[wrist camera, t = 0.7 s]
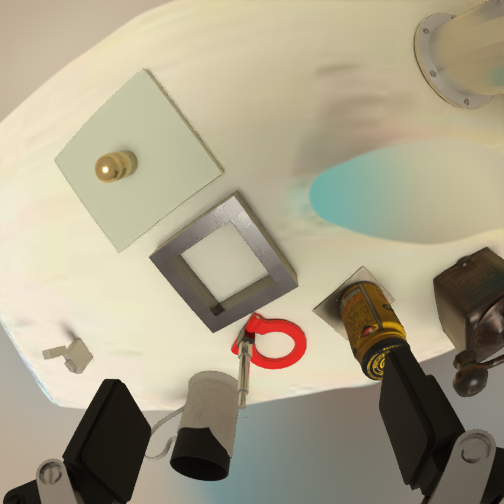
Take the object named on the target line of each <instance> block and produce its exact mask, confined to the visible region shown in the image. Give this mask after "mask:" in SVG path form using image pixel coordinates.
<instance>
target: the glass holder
mask: <svg viewBox="0 0 504 504" xmlns="http://www.w3.org/2000/svg"><path fill="white" fill-rule="evenodd" d="M237 389H238V381H237V380H236V379H235V378H233V377H232V376H230V375H227V374H225V373H222V372H217V371H204V372H200V373H197V374H195V375H194V376H193V377H192V378H191V379H190V381H189V394H188V397H187V401H186V404H185V405H184V406H183V407H181V408H179V409H178V410H176V411H174V412H173V413H171V414H169V415H168V416H167V417H165V418H163V419H162V420H160V421H159V422H158V423H157V424H156V425H155V426H154V427H153V428H152V429H151V436H152V434H153V433H154V432H155V431H156V430H157V429H158V428H159V427H160V426H161V425H162V424H163V423H165V422H166V421H168V420H169V419H171V418H172V417H174V416H176V415H177V414H179V413H181V412H182V411H183V414H182V418H181V421H180V424H179V428H178V431H177V435H178V436H175V437H171V438H170V439H169V440H168V442H167V444H166V447H165V449H164V450H163V452H162V453H161V454H160V455H158V456H156V457H148V456H146V455H144V457H145V458H146V459H148V460H151V461H157V460H160V459H162V458H163V457H164V456H165V455H166V454H167V452H168V451H169V448H170V445H171V443H172V442H173V441H175V440H176V442H175V446H174V450H173V453H172V456H171V460H170V465H171V466H172V468H173V469H174V470H176V471H177V472H179V473H180V474H182V475H184V476H187V477H189V478H193V479H197V480H203V481H218V480H222V479H224V478H226V477H227V476H228V473H229V466H230V465H229V464H230V459H231V458H232V454H233V446H234V439H235V431H236V424H237V416H238V409H239V408H238V401H239V394H238V393H237Z"/></svg>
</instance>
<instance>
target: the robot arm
mask: <svg viewBox="0 0 504 504" xmlns="http://www.w3.org/2000/svg"><path fill="white" fill-rule="evenodd" d="M414 43H415V53H416V57H417V61H418V64H419V66H420V69H421V71H422V73H423V75H424V76H425V78H426V80H427V81H428V83H429V84H430V85H431V87H432V88H433V89H434V90H435V91H436V92H437V93H438V95H440V96H441V97H442V98H443V99H444V100H446V101H447V102H449V103H451V104H452V105H454V106H457V107H460V108H465V109H476V108H480V107H482V106H484V105H486V104H487V103H488V102H489V101H490V100H491V98H492V97H493V95H495V94H504V0H490V1H488V2H486V3H483V4H481V5H479V6H477V7H475V8H473V9H471V10H469V11H467V12H465V13H463V14H461V15H459V16H457V17H456V16H454V15H450V14H443V13H439V14H434V15H431V16H430V17H428V18H426V19H425V20H424V21H422V22H421V24H420V25H419V27H418V28H417V31H416V34H415V42H414ZM430 74H431V75H430ZM379 409H380V413H381V416H382V418H383V421H384V424H385V427H386V430H387V433H388V435H389V438H390V441H391V444H392V447H393V450H394V453H395V456H396V459H397V462H398V465H399V468H400V471H401V474H402V477H403V480H404V483H405V484H406V485H408V484H410V486H411V489H412V490H414V489H417V488H420V489H421V492H422V494H423V495H425V496H424V498H423V500H422V502H421V503H420V504H504V449H503V448H499V447H496V443H495V439H494V438H493V436H492V435H491V434H490V433H488V432H487V431H484V430H481V429H473V430H468V431H465V429H464V428H463V426H462V424H461V422H460V420H459V418H458V417H457V415H456V413H455V411H454V409H453V408H452V406H451V404H450V402H449V401H448V399H447V397H446V396H445V394H444V392H443V391H442V389H441V387H440V385H439V384H438V382H437V381H436V379H435V378H434V376H433V375H425V373H424V372H423V370H422V368H421V367H420V365H419V363H418V362H417V360H416V358H415V357H414V355H413V354H412V352H411V350H410V349H409V347H408V346H407V345H406V344H405V345H401V346H397V347H393V348H390V350H389V353H386V354H385V359H384V369H383V378H382V386H381V394H380V401H379ZM150 437H151V427H150V425H149V424H148V422H147V420H146V419H145V417H144V415H143V414H142V412H141V411H140V409H139V407H138V406H137V404H136V402H135V401H134V399H133V397H132V395H131V394H130V392H129V390H128V388H127V387H126V385H125V384H124V383H122V382H121V380H119V379H105V380H104V381H103V382H102V384H101V386H100V387H99V389H98V391H97V393H96V394H95V396H94V398H93V400H92V401H91V403H90V405H89V407H88V409H87V411H86V412H85V414H84V416H83V418H82V420H81V422H80V423H79V426H78V427H77V429H76V431H75V433H74V435H73V437H72V439H71V440H70V442H69V444H68V446H67V448H66V450H65V452H64V454H63V456H62V457H63V459H64V461H63V462H61V461H60V460H58V459H48V460H46V461H44V462H43V463H42V464H41V465H40V466H39V468H38V469H37V472H36V479H35V480H33V481H31V482H28V483H26V484H24V485H21V486H19V487H17V488H14V489H12V490H10V491H8V493H7V494H6V495H5V497H4V500H3V504H126V503H127V502H128V501H130V500H131V497H132V493H133V490H134V487H135V483H136V481H137V477H138V474H139V471H140V468H141V465H142V462H143V458H144V455H145V452H146V449H147V446H148V443H149V440H150Z"/></svg>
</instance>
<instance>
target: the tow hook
mask: <svg viewBox="0 0 504 504" xmlns="http://www.w3.org/2000/svg"><path fill="white" fill-rule="evenodd" d="M255 332H256V333H258V334H261V335H264V334H266V333H270V332H283V333H286V334H288V335H289V336H291V337H292V338H293V340H294V342H295V347H294V349H293V351H292V352H291V353H290V354H289V355H287V356H285V357H283V358H279V359H269V358H266V357H263V356H262V355H260V354H259V353H258V352H257V350H256V349H255V345H254V344H253V343H254V342H255ZM305 350H306V338H305V335H304V333H303V331H302V330H301V329H300V328H299V327H298V326H296V325H295V324H293V323H291V322H288V321H285V320H268V321H267V320H265V319H263V318H262V317H261V316H260V315H259V314H256V313H254V314H253V315H252V317H251V318H250V320H249V321H248V323H247V325H246V326H245V327H244V328H243V330H242V331H241V333H240V334H239V336H238V339H237V340H236V342H235V344H234V345H233V347H232V348H231V351H232V352H233V353H234V354H236V355H238V358H239V359H240V364H239V376H238V389H237V393H238V394H239V401H238V408H239V409H245V408H246V395H247V394H248V390H249V368H250V361H251V362H252V363H254V364H255V365H257V366H259V367H262V368H266V369H282V368H285V367H289V366H291V365H293V364H295V363H296V362H297V361H298V360H300V359H301V357H302V356H303V355H304V353H305Z"/></svg>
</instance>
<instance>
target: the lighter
mask: <svg viewBox="0 0 504 504" xmlns="http://www.w3.org/2000/svg"><path fill="white" fill-rule="evenodd" d="M42 352H43V356H44V359H51V358H55V357H58V356H62V355H63V357H64V358H65V360H66V362H65V363H64V364H65V365H66V367H67V368H68V369H69V371H70V372H73V373H76V374H80V373H82V372H83V371H84V369H85V368H86V366H87V365H88V363H89V362H90V361H91V359H92V358H93V356H92V355H91V353H90V352H89V350H88V349H87V347H86V346H85V344H84V343H83V341H82V340H81V339H80V338H78V339H74V341H73V342H72V343H71V344H70V346H69V347H68V348H67V349H66V346H60V347H56V348H52V349H48V350H44V351H42Z"/></svg>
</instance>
